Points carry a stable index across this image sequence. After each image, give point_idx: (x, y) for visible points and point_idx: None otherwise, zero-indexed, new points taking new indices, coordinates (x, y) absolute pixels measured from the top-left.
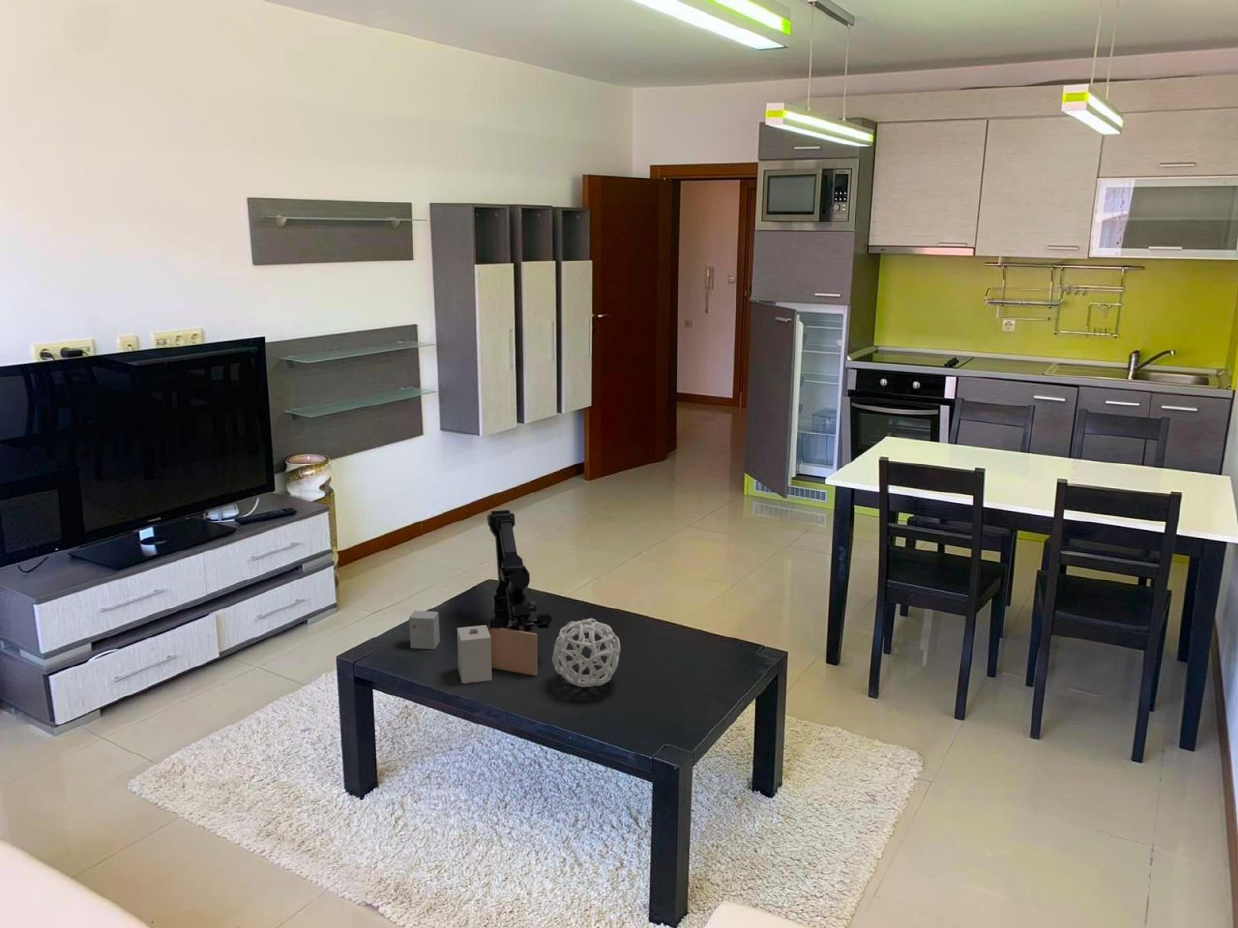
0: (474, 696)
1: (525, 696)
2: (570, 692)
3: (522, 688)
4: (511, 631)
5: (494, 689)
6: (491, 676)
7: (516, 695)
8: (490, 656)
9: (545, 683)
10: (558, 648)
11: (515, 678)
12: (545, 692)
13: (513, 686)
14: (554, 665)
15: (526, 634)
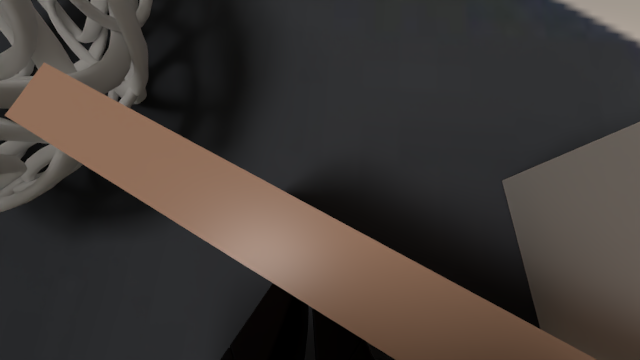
0: (574, 32)
1: (339, 24)
2: (164, 46)
3: (347, 88)
4: (544, 332)
5: (479, 88)
6: (514, 175)
7: (376, 33)
8: (636, 125)
9: (243, 123)
10: (2, 53)
11: (375, 185)
12: (256, 50)
13: (387, 108)
14: (143, 45)
15: (201, 147)
